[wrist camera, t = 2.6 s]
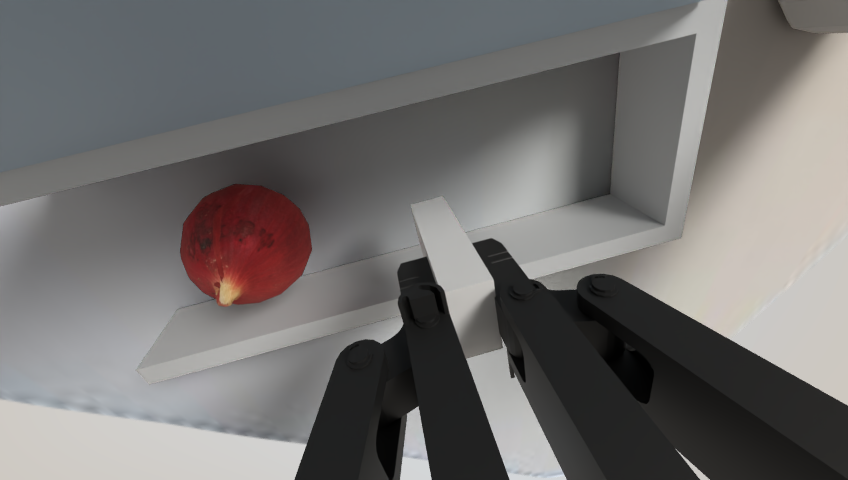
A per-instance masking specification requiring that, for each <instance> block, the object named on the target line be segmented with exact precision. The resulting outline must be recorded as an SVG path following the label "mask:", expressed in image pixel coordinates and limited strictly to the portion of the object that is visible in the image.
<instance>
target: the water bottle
mask: <svg viewBox="0 0 848 480" xmlns="http://www.w3.org/2000/svg"><path fill="white" fill-rule="evenodd" d="M778 2H779V4H780V6H781V8H782V11H783V13H784V15H785V17H786V19H787V21H788V23H789V24H790V26H791V27H792V28H794V29H798V30H803V31H807V32H812V33H816V34H817V33H848V0H778Z"/></svg>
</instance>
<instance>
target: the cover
mask: <svg viewBox="0 0 848 480" xmlns="http://www.w3.org/2000/svg"><path fill="white" fill-rule="evenodd" d="M700 1H704V0H0V172H4V171H9V170H13V169H17V168H21V167H25V166H29V165H33V164H37V163H41V162H45V161H49V160H54V159H58V158H62V157H66V156H70V155H74V154H78V153H82V152H86V151H90V150H94V149H99V148H103V147H107V146H111V145H115V144H119V143H123V142H127V141H131V140H135V139H139V138H144V137H148V136H152V135H156V134H160V133H164V132H168V131H172V130H176V129H180V128H185V127H189V126H193V125H197V124H201V123H205V122H209V121H213V120H217V119H221V118H225V117H230V116H234V115H238V114H242V113H246V112H250V111H254V110H258V109H262V108H266V107H270V106H275V105H279V104H283V103H287V102H291V101H295V100H299V99H303V98H307V97H311V96H315V95H320V94H324V93H328V92H332V91H336V90H340V89H344V88H348V87H352V86H356V85H360V84H365V83H369V82H373V81H377V80H381V79H385V78H389V77H393V76H397V75H401V74H405V73H410V72H414V71H418V70H422V69H426V68H430V67H434V66H438V65H442V64H446V63H450V62H455V61H459V60H463V59H467V58H471V57H475V56H479V55H483V54H487V53H491V52H495V51H500V50H504V49H508V48H512V47H516V46H520V45H524V44H528V43H532V42H536V41H540V40H545V39H549V38H553V37H557V36H561V35H565V34H569V33H573V32H577V31H581V30H586V29H590V28H594V27H598V26H602V25H606V24H610V23H614V22H618V21H622V20H626V19H631V18H635V17H639V16H643V15H647V14H651V13H655V12H659V11H663V10H667V9H671V8H676V7H680V6H684V5H688V4H692V3H696V2H700Z"/></svg>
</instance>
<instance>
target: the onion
mask: <svg viewBox="0 0 848 480" xmlns="http://www.w3.org/2000/svg"><path fill="white" fill-rule="evenodd" d="M311 251H312V245H311V238H310V230H309V225H308V223H307V221H306V219H305V217H304V216H303V214H302V212H301V210H300V209H299V208H298V207H297V206H296V205H295V204H294V203H292V202H291V201H290V200H289V199H288V198H287V197H285V196H284V195H283V194H280V193H278V192H275V191H273V190H270V189H268V188H266V187H263V186H259V185H244V184H234V185H231V186H229V187H226V188H223V189H221V190H218V191H216V192H213V193H211V194H209V195H207V196H205V197H204V198H203V199H202V200H201V201H200V202H199V204H198V205H197V206H196V207H195V209H194V210H193V211H192V212H191V214H190V215H189V216H188V218H187V219H186V221H185V222H184V224H183V231H182V240H181V248H180V254H181V259H182V262H183V264H184V267H185V269H186V272H187V275H188V277H189V278H190V280H191V281H192V282H193V283H194V284H195V285H196V286H197V287H198V288H199V289H200V290H201V291H202V292H203V293H205V294H207V295H209V296H211V297H213V298H215V299H216V302H217V304H218V306H223V307H227V306H231V305H232V304H237V305H240V304H251V303H260V302H262V301H265V300H267V299H270V298H272V297H275V296H277V295H280V294H282V293H283V292H284V291H285V290H286V289H287V288H288V287H290V286H291V285H292V284H293V283H294V282H295V281H296V280H297V279H298V278H299V277H300V276H301V275H302V273H303V271H304V269H305V266H306V264H307V261H308V259H309V256H310V254H311Z"/></svg>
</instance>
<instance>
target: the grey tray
mask: <svg viewBox="0 0 848 480" xmlns="http://www.w3.org/2000/svg"><path fill="white" fill-rule="evenodd" d="M727 1H728V0H704V1H700V2H696V3H692V4H688V5H684V6H680V7H676V8H671V9H667V10H663V11H659V12H655V13H651V14H647V15H643V16H639V17H635V18H631V19H626V20H622V21H618V22H614V23H610V24H606V25H602V26H598V27H594V28H590V29H586V30H581V31H577V32H573V33H569V34H565V35H561V36H557V37H553V38H549V39H545V40H540V41H536V42H532V43H528V44H524V45H520V46H516V47H512V48H508V49H504V50H500V51H495V52H491V53H487V54H483V55H479V56H475V57H471V58H467V59H463V60H459V61H455V62H450V63H446V64H442V65H438V66H434V67H430V68H426V69H422V70H418V71H414V72H410V73H405V74H401V75H397V76H393V77H389V78H385V79H381V80H377V81H373V82H369V83H365V84H360V85H356V86H352V87H348V88H344V89H340V90H336V91H332V92H328V93H324V94H320V95H315V96H311V97H307V98H303V99H299V100H295V101H291V102H287V103H283V104H279V105H275V106H270V107H266V108H262V109H258V110H254V111H250V112H246V113H242V114H238V115H234V116H230V117H225V118H221V119H217V120H213V121H209V122H205V123H201V124H197V125H193V126H189V127H185V128H180V129H176V130H172V131H168V132H164V133H160V134H156V135H152V136H148V137H144V138H139V139H135V140H131V141H127V142H123V143H119V144H115V145H111V146H107V147H103V148H99V149H94V150H90V151H86V152H82V153H78V154H74V155H70V156H66V157H62V158H58V159H54V160H49V161H45V162H41V163H37V164H33V165H29V166H25V167H21V168H17V169H13V170H9V171H4V172H0V206H4V205H8V204H12V203H16V202H20V201H24V200H28V199H32V198H36V197H40V196H44V195H48V194H52V193H56V192H60V191H64V190H68V189H72V188H76V187H80V186H84V185H88V184H92V183H97V182H101V181H105V180H109V179H113V178H117V177H121V176H125V175H129V174H133V173H137V172H141V171H145V170H149V169H153V168H157V167H161V166H165V165H169V164H173V163H177V162H181V161H185V160H189V159H193V158H197V157H201V156H205V155H209V154H213V153H217V152H221V151H225V150H229V149H233V148H237V147H241V146H245V145H249V144H253V143H257V142H261V141H265V140H270V139H274V138H278V137H282V136H286V135H290V134H294V133H298V132H302V131H306V130H310V129H314V128H318V127H322V126H326V125H330V124H334V123H338V122H342V121H346V120H350V119H354V118H358V117H362V116H366V115H370V114H374V113H378V112H382V111H386V110H390V109H394V108H398V107H402V106H406V105H410V104H414V103H418V102H422V101H426V100H430V99H434V98H439V97H443V96H447V95H451V94H455V93H459V92H463V91H467V90H471V89H475V88H479V87H483V86H487V85H491V84H495V83H499V82H503V81H507V80H511V79H515V78H519V77H523V76H527V75H531V74H535V73H539V72H543V71H547V70H551V69H555V68H559V67H563V66H567V65H571V64H575V63H579V62H583V61H587V60H591V59H595V58H599V57H603V56H607V55H612V54H616V53H620V58H619V72H618V87H617V101H616V115H615V130H614V144H613V158H612V172H611V187H610V194H608V195H604V196H600V197H597V198H593V199H589V200H586V201H582V202H578V203H574V204H571V205H567V206H563V207H559V208H556V209H552V210H548V211H544V212H541V213H537V214H533V215H529V216H526V217H522V218H518V219H514V220H511V221H507V222H503V223H499V224H496V225H492V226H488V227H484V228H481V229H477V230H473V231H469V232H466V235H467V236H468V238H469V240H470V241H471V243H474V242H478V241H482V240H486V239H489V238H493V239H495V240H497V241H499V242H501V243H502V244H503V245H504V247H505V248H506V249H507V251H508V252H509V253H510V255H511V256H512V258H514V260H515V261H516V262H517V264H518V265H519V266H520V268H521V269H522V270H523V272H524V273H525V274H526V275H527V277H528V278H529V279H535V278H538V277H542V276H545V275H549V274H553V273H556V272H560V271H564V270H567V269H571V268H575V267H578V266H582V265H585V264H589V263H593V262H596V261H600V260H604V259H607V258H611V257H614V256H618V255H622V254H625V253H629V252H633V251H636V250H640V249H644V248H647V247H651V246H654V245H658V244H662V243H665V242H669V241H673V240H676V239H680V238H681V237H682V232H683V227H684V222H685V216H686V211H687V206H688V201H689V196H690V191H691V186H692V181H693V175H694V170H695V165H696V160H697V155H698V150H699V145H700V140H701V134H702V129H703V124H704V119H705V114H706V109H707V104H708V99H709V93H710V88H711V83H712V78H713V73H714V68H715V63H716V58H717V53H718V47H719V42H720V37H721V32H722V27H723V22H724V17H725V12H726V6H727ZM419 258H423V254H422V250H421V246H420V245H417V246H413V247H409V248H406V249H402V250H398V251H394V252H391V253H387V254H383V255H379V256H376V257H372V258H368V259H364V260H361V261H357V262H353V263H350V264H346V265H342V266H338V267H335V268H331V269H327V270H323V271H320V272H316V273H312V274H308V275H305V276H301V277H299V278H298V279H297V280H296V281H295V282H294V283H293V284H292V285H291V286H290V287H288V288H287V289H286V290H285V291H284V292H283V293H282V294H280V295H277V296H275V297H272V298H270V299H267V300H265V301H262V302H260V303H251V304H240V305H237V304H232V305H231V306H227V307H223V306H218V304H217V302H216V299H215V300H211V301H207V302H203V303H200V304H196V305H192V306H188V307H185V308H181V309H177V311H176V312H175V314H174V315H173V317H172V318H171V320H170V321H169V323H168V324H167V325H166V327H165V328H164V330H163V331H162V333H161V334H160V336H159V337H158V339H157V340H156V341H155V343H154V344H153V346H152V347H151V349H150V350H149V352H148V353H147V355H146V356H145V357H144V359H143V360H142V362H141V363H140V365H139V366H138V368H137V369H136V371H137V372H138V373H139V374H140V375H141V376H142V377H143V379H144V380H145V381H146V382H147V383H148V384H149V385H150V384H153V383H157V382H161V381H164V380H168V379H171V378H175V377H179V376H182V375H186V374H190V373H193V372H197V371H201V370H204V369H208V368H211V367H215V366H219V365H222V364H226V363H230V362H233V361H237V360H240V359H244V358H248V357H251V356H255V355H259V354H262V353H266V352H270V351H273V350H277V349H280V348H284V347H288V346H291V345H295V344H299V343H302V342H306V341H309V340H313V339H317V338H320V337H324V336H328V335H331V334H335V333H338V332H342V331H346V330H349V329H353V328H357V327H360V326H364V325H368V324H371V323H375V322H378V321H382V320H386V319H389V318H393V317H397V316H400V315H401V313H400V310H399V307H398V298H399V296H400V295H401V292H400V287H399V281H398V276H397V271H398V269H399V267H400V264H401V263H404V262H408V261H411V260H415V259H419Z"/></svg>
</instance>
